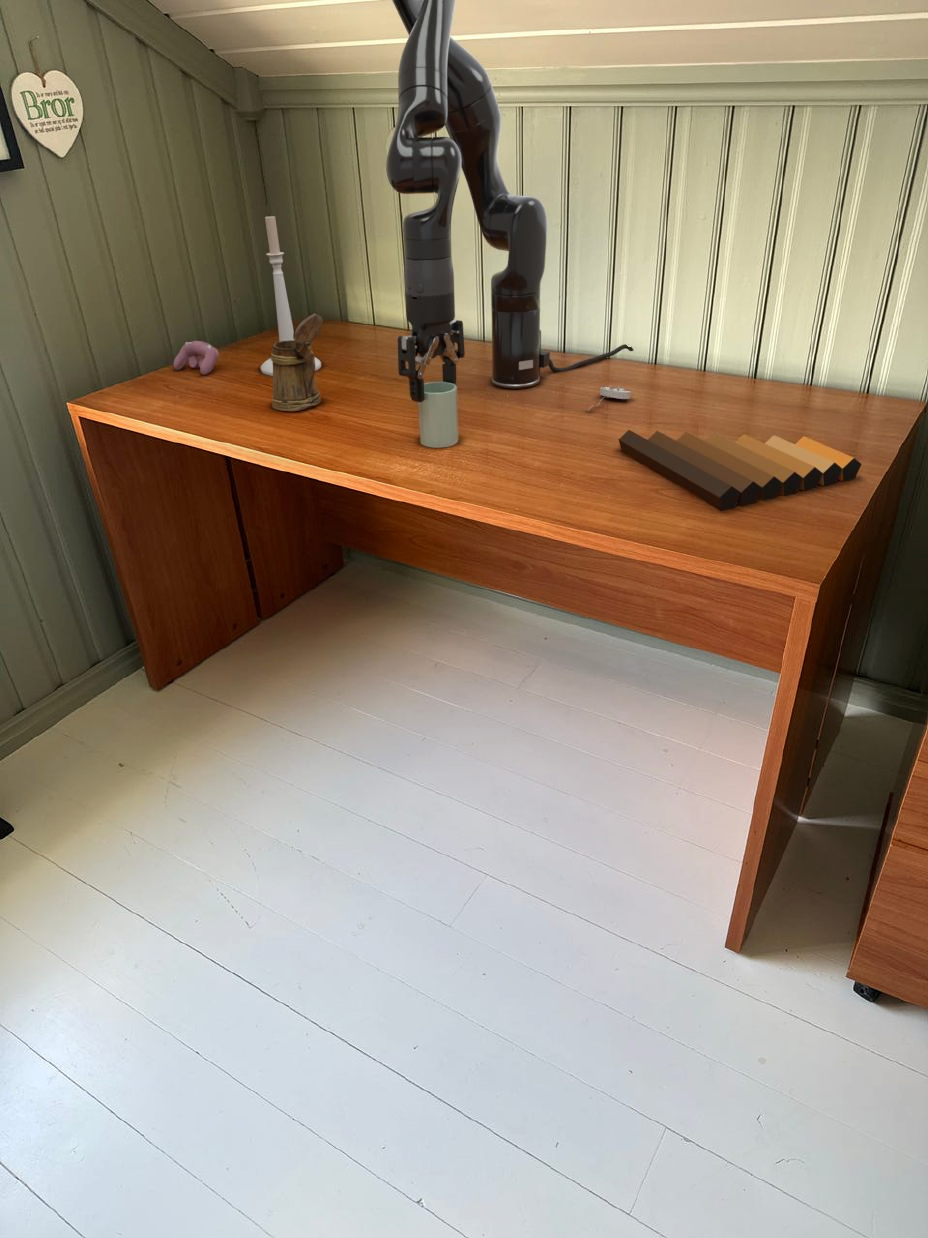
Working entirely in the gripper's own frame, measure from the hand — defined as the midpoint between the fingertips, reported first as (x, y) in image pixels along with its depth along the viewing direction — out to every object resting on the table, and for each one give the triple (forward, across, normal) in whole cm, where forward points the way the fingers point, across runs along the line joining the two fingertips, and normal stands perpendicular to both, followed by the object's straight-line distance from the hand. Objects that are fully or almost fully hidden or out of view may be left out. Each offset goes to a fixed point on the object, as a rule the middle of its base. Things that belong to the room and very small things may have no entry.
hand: (434, 394), depth 136 cm
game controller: (+8, -32, +15) cm, 36 cm away
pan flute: (+8, -15, +45) cm, 48 cm away
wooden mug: (+8, -2, -33) cm, 34 cm away
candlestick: (+8, -20, -54) cm, 58 cm away
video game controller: (+8, -8, -71) cm, 72 cm away
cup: (+8, 0, 0) cm, 8 cm away
